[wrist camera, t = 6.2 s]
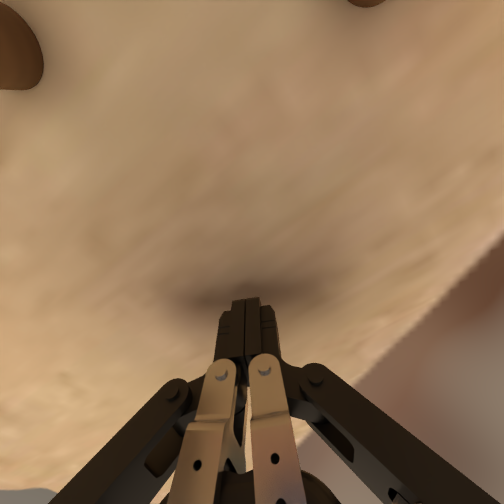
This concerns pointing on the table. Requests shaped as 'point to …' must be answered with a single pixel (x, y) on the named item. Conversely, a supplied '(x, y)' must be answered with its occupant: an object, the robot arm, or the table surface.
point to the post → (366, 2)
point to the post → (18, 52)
